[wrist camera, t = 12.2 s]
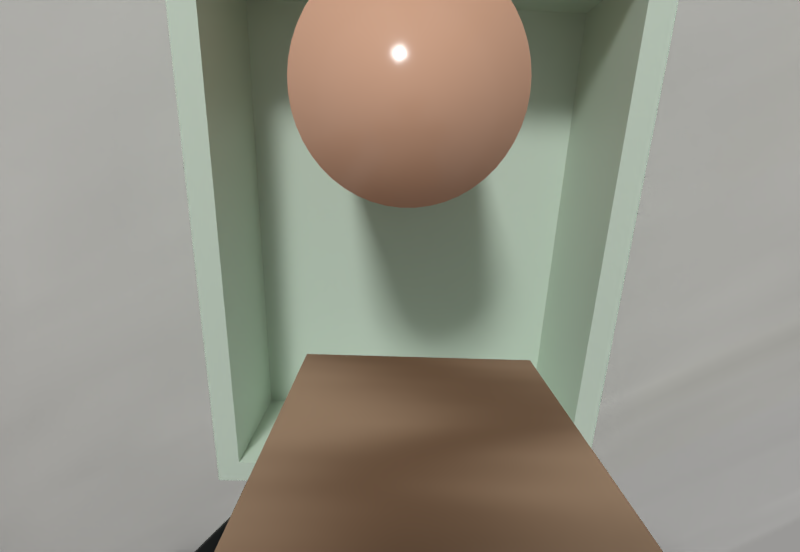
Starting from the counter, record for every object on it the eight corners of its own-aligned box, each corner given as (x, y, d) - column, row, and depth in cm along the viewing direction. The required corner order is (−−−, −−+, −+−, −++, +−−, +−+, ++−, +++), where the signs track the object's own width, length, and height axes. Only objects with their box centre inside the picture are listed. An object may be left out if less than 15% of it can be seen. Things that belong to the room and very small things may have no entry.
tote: (541, 414, 19) (584, 486, 15) (259, 407, 19) (218, 480, 15) (603, -5, 14) (694, -79, 10) (227, -21, 14) (153, -104, 10)
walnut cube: (529, 359, 9) (690, 590, 4) (505, 534, 10) (604, 863, 5) (306, 353, 9) (199, 581, 4) (311, 531, 10) (235, 864, 5)
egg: (487, 70, 14) (562, -26, 8) (455, 206, 16) (495, 228, 9) (353, 40, 14) (305, -87, 7) (330, 180, 15) (272, 182, 9)
